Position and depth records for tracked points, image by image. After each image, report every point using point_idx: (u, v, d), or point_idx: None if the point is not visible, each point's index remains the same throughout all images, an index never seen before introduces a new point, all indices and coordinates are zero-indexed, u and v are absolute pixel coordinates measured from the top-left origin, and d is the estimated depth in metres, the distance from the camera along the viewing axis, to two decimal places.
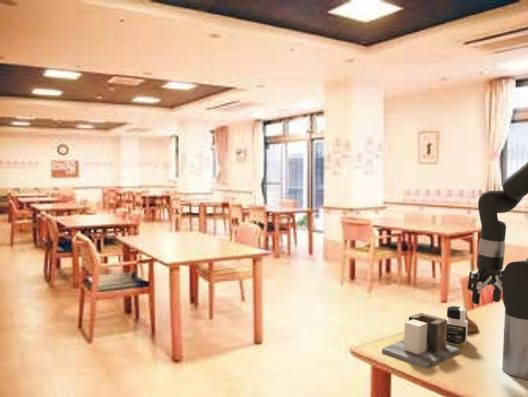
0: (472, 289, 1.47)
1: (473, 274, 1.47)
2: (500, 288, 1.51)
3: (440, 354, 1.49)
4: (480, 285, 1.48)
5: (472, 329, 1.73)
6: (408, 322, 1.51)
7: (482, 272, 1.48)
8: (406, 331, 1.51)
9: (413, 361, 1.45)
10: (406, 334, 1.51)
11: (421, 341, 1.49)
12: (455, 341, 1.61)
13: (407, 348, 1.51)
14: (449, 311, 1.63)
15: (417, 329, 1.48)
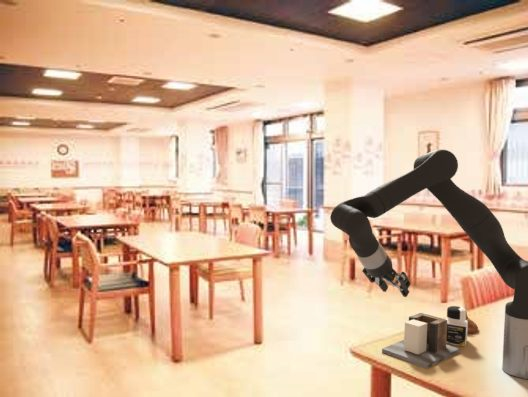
0: (409, 283, 1.36)
1: (404, 275, 1.33)
2: None
3: (440, 354, 1.49)
4: None
5: (472, 329, 1.72)
6: (408, 322, 1.51)
7: (394, 270, 1.35)
8: (406, 331, 1.51)
9: (413, 361, 1.45)
10: (406, 334, 1.51)
11: (421, 341, 1.49)
12: (455, 341, 1.61)
13: (407, 348, 1.51)
14: (449, 311, 1.63)
15: (417, 329, 1.48)
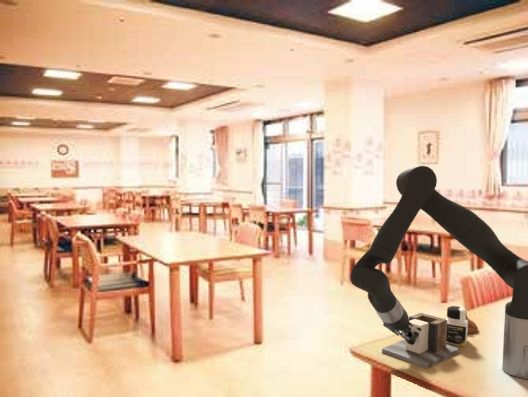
0: None
1: (420, 331, 1.41)
2: None
3: (440, 354, 1.49)
4: None
5: (472, 330, 1.72)
6: (409, 321, 1.52)
7: None
8: None
9: (413, 361, 1.45)
10: None
11: (422, 340, 1.50)
12: (455, 341, 1.61)
13: (408, 347, 1.51)
14: (449, 311, 1.63)
15: None
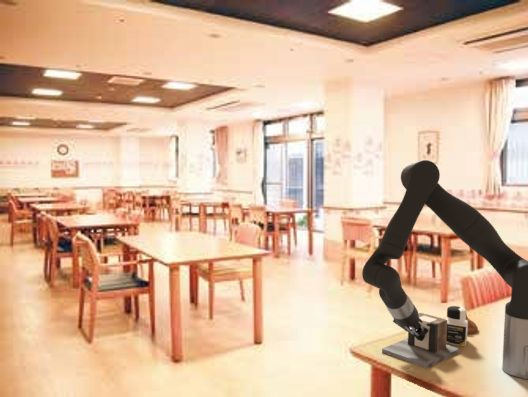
0: None
1: (429, 327, 1.45)
2: None
3: (440, 354, 1.49)
4: (419, 326, 1.50)
5: (472, 330, 1.72)
6: None
7: (421, 320, 1.45)
8: None
9: (413, 361, 1.45)
10: None
11: None
12: (455, 341, 1.61)
13: (418, 343, 1.55)
14: (449, 311, 1.63)
15: None
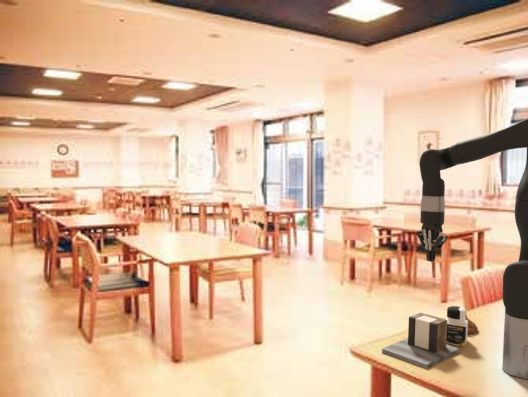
0: (439, 247, 1.55)
1: (445, 238, 1.52)
2: None
3: (440, 354, 1.49)
4: None
5: (472, 330, 1.72)
6: (419, 318, 1.56)
7: (442, 230, 1.54)
8: (416, 327, 1.55)
9: (413, 361, 1.45)
10: (417, 330, 1.55)
11: None
12: (455, 341, 1.61)
13: (418, 343, 1.55)
14: (449, 311, 1.63)
15: (428, 325, 1.52)
